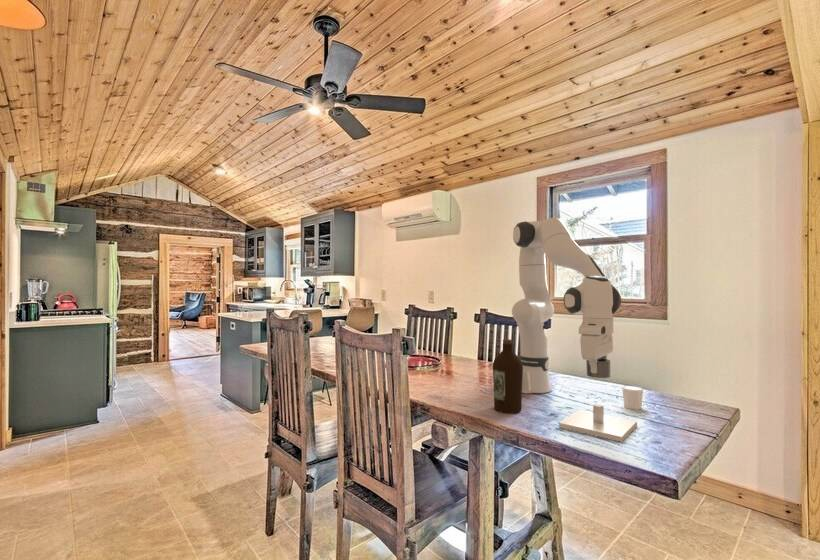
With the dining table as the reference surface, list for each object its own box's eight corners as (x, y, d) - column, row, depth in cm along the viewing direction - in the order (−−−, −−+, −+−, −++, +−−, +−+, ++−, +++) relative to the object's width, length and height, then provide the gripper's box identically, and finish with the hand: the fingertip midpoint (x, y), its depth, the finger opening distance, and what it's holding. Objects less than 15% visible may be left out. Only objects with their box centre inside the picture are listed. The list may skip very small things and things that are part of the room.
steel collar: (584, 376, 129) (583, 360, 129) (590, 372, 134) (590, 357, 134) (606, 379, 125) (606, 362, 125) (612, 375, 130) (612, 359, 130)
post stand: (559, 427, 129) (559, 406, 129) (579, 413, 142) (579, 395, 142) (621, 442, 117) (621, 419, 117) (637, 425, 130) (636, 405, 130)
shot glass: (646, 410, 146) (646, 390, 146) (625, 409, 147) (625, 389, 147) (639, 404, 153) (639, 385, 153) (619, 403, 154) (619, 385, 154)
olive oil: (510, 403, 154) (510, 337, 154) (529, 412, 144) (529, 340, 144) (486, 407, 150) (486, 338, 150) (504, 415, 140) (504, 342, 140)
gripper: (597, 323, 140) (598, 364, 139) (576, 328, 124) (577, 374, 124) (617, 324, 135) (618, 366, 135) (598, 330, 120) (599, 377, 120)
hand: (598, 370), depth 129 cm, fingers closed on steel collar, 7 cm apart
